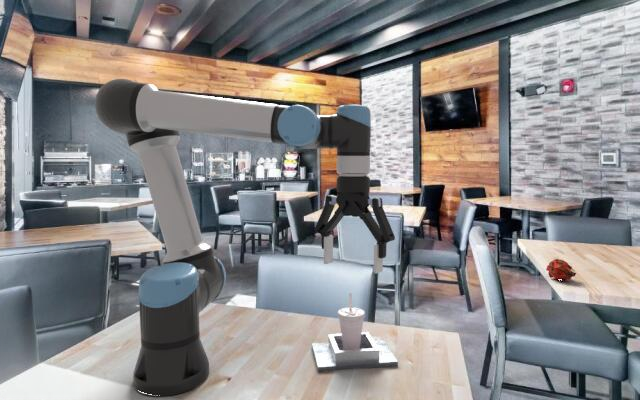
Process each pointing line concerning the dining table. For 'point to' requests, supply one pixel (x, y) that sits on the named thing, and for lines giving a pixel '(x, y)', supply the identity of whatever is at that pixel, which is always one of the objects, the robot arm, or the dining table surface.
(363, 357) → the collar
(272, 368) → the dining table surface
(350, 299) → the smoothie
